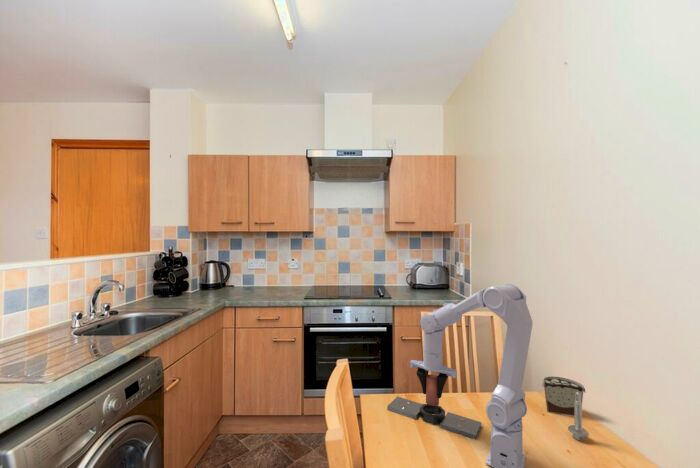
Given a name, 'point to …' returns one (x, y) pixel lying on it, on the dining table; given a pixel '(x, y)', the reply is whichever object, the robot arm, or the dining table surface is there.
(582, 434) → the screw
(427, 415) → the hinge
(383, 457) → the dining table surface
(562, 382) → the food container
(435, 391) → the hinge pin
